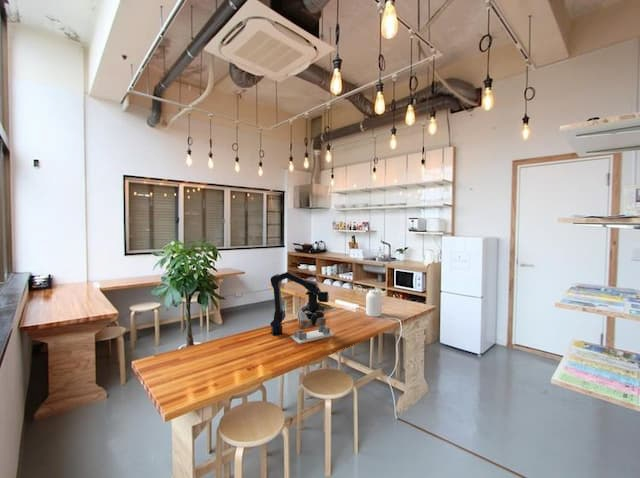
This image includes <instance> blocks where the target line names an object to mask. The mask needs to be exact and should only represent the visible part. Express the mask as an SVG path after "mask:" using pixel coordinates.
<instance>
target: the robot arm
mask: <svg viewBox="0 0 640 478" xmlns="http://www.w3.org/2000/svg"><path fill="white" fill-rule="evenodd" d="M287 279H288V280H290V281H293V282H294V283H296V284H299V285H301V286H303V287H304V288H305V290H307V291H306V293H305V295H306V296H308V299H307V302H306V303H307V304H306V305H307V306H302V307H301V310H302V312H305V311H306V313H305V314H306V316H307V318H308V319H311V320H312V324H313V326H315V323H316V320H317V318H322V317H325V313H324V311H325V306H324V305H322V304H321V303H329V301H330V299H329V298H330V296H329V291H322V290H321V289H320V288H319V285H318V283H317V282H316V281H313V280H309V279H305V278H302V277H301V276H299V275H296V274H295V273H292V272H291V271H288V270H287V271H286V272H283V273H280V274H279V273H278V274H274V275H272V276H271V277H270V284H271V287H272V289H273V299H274V313H273V320H272V321H271V322H270V323H269V324H270V327H271V329H270V330H271V331H270V332H269V333H270V334H271V335H272V336H279V335H283V334H284V333H283V325H282V323H283V321H284V320H285V318H286V317H287V316H286V310H283V306H282V295H281V294H282V292H281V291H282V290H281V285H282V282H283V280H287Z"/></svg>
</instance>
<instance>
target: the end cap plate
mask: <svg viewBox="0 0 640 478" xmlns="http://www.w3.org/2000/svg"><path fill="white" fill-rule="evenodd" d="M330 329H331V328H330V327H328V326H327V325H325V326H320V327H317V330H311V331H307V332H303V330H301V329H299V330H295V332H294V334H293V335H290V338H291V339H293V341H295V342H297V343H298V344H300V345H301V344H305V343H308V342H312V341H316V340H320V339H326V338H329V337H333V336H335V334H334V332H331V330H330Z"/></svg>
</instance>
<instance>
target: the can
mask: <svg viewBox="0 0 640 478" xmlns="http://www.w3.org/2000/svg"><path fill="white" fill-rule="evenodd" d="M365 298H366V299H365V301H366V302H365V303H366V304H365V310H366V311H365V314H366V316H368V317H374V318H375V317H376V318H377V317H381V316H382V314H383V313H382V309H383V307H382V305H383V295H382V294H381V293H380V290H377V289H369V290H368V293H366V297H365Z"/></svg>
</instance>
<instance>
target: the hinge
mask: <svg viewBox="0 0 640 478" xmlns="http://www.w3.org/2000/svg"><path fill="white" fill-rule="evenodd" d="M296 313H297V314H296V315H297V322H298V323H299V321H301V320H307V319H308V318H307V316H306V314H305V313H306V311H305V312H302V309H301V310H299V311H297V312H296Z"/></svg>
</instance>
